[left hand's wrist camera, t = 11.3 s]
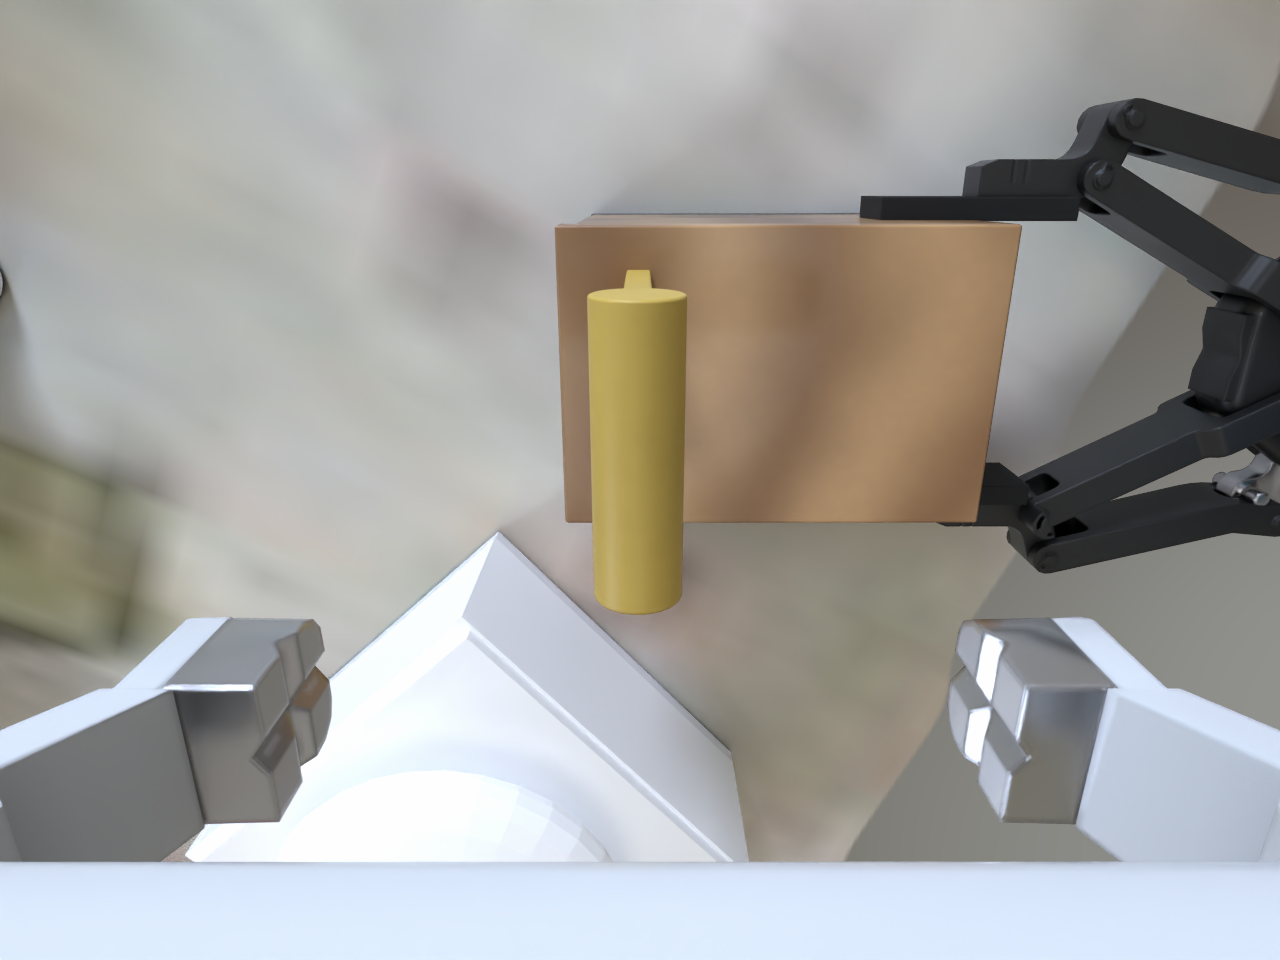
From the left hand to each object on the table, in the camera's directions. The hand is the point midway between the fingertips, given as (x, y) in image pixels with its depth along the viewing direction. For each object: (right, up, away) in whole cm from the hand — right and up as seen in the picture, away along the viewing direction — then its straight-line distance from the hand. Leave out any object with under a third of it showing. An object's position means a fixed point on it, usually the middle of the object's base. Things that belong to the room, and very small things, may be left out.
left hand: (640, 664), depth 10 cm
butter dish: (-7, -12, +33) cm, 35 cm away
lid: (+4, +6, +16) cm, 17 cm away
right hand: (+8, +7, +19) cm, 22 cm away
